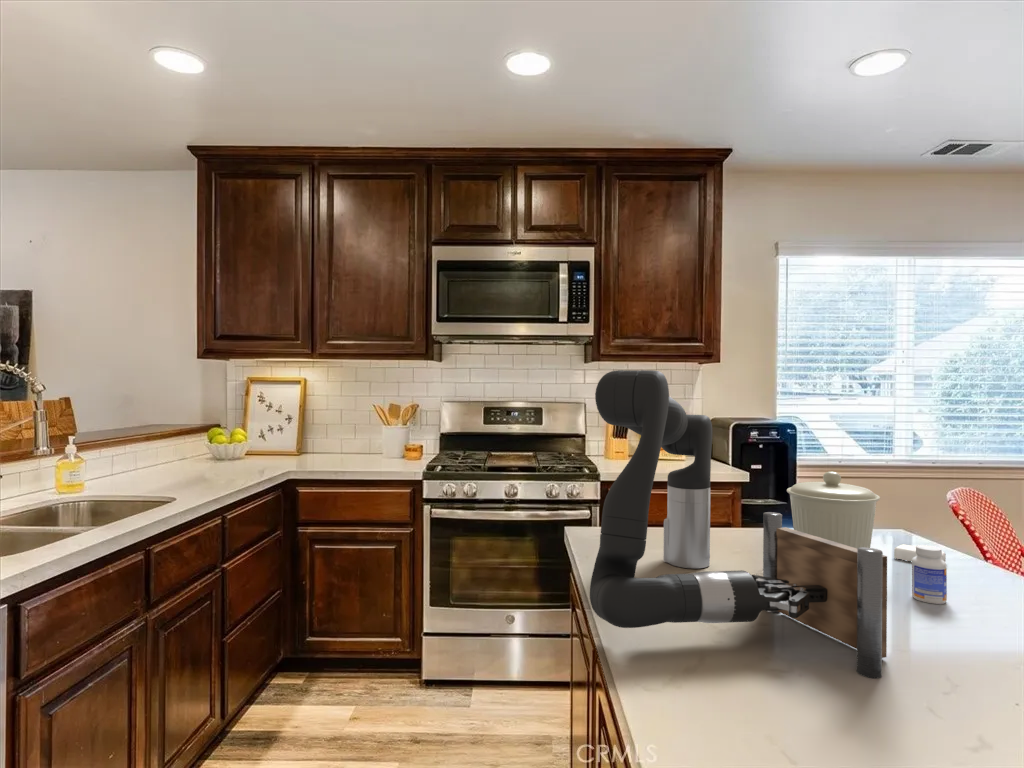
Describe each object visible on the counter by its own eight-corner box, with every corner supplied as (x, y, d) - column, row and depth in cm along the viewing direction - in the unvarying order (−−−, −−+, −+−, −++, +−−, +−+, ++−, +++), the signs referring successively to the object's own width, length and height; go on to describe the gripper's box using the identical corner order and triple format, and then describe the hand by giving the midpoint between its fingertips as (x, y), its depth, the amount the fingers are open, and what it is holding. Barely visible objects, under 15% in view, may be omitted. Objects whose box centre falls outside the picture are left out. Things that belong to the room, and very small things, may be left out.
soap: (946, 564, 135) (946, 551, 135) (939, 569, 132) (939, 555, 132) (900, 555, 142) (901, 543, 142) (893, 559, 138) (893, 546, 138)
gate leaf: (775, 611, 104) (775, 527, 104) (786, 610, 104) (786, 526, 104) (874, 659, 86) (874, 557, 86) (886, 657, 86) (887, 556, 86)
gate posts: (759, 606, 107) (760, 512, 107) (774, 606, 108) (775, 512, 108) (867, 679, 81) (867, 553, 81) (887, 677, 81) (887, 552, 81)
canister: (898, 581, 122) (899, 478, 122) (809, 580, 123) (810, 477, 123) (850, 556, 140) (851, 466, 140) (772, 555, 141) (773, 465, 141)
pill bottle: (952, 605, 109) (953, 552, 109) (919, 603, 110) (919, 550, 110) (937, 595, 114) (938, 544, 114) (906, 593, 115) (906, 542, 115)
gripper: (742, 586, 85) (853, 583, 88) (701, 559, 99) (799, 557, 101) (742, 639, 85) (853, 634, 88) (701, 605, 99) (798, 601, 101)
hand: (824, 593), depth 94 cm, fingers closed
